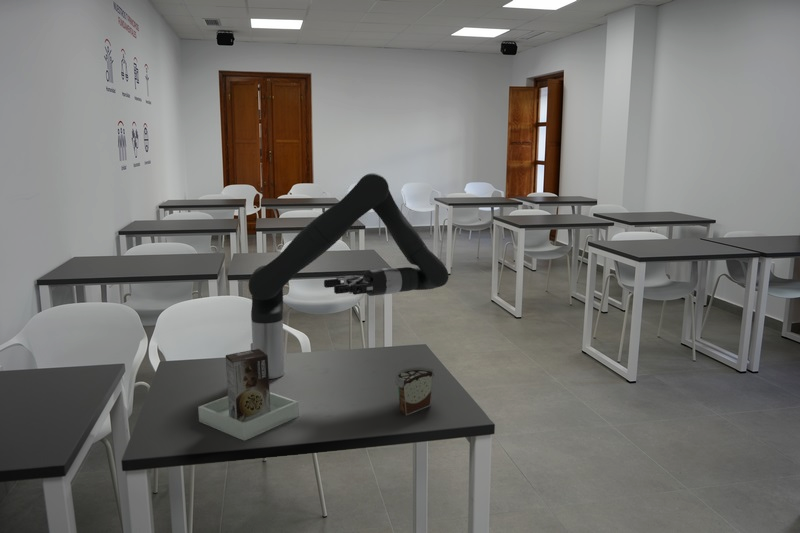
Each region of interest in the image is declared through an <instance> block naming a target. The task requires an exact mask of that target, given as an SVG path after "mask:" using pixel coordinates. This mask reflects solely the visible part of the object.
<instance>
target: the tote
mask: <svg viewBox="0 0 800 533" xmlns="http://www.w3.org/2000/svg"><path fill="white" fill-rule="evenodd" d="M299 403H300V402H299V401H298V400H294V399H291V398H289V397H286V396H283V395H280V394H277V393H274V392H271V391H270V409H271V412H269V413H267V414H264V415H262V416H259V417H257V418H255V419H252V420H248V421H244V422H241V421H238V420H236V419H233V418H232V417H231V416H230V415H229V403H228V395H226V396H224V397H222V398H219V399H216V400H212V401H210V402H208V403H205V404H202V405H200V406H198V407H197V409H198V422H199V423H202V424H204V425H207V426H208V427H211V428H213V429H216V430H219V431H220V432H222V433H225V434H227V435H230V436H231V437H234V438H237V439H239V440H242V441H243V442H244V441H247V440H249V439H253V438H254V437H256V436H259V435H260V434H263V433H266V432H267V431H269V430H272V429H274V428H276V427H278V426H281V425H283V424H285V423H287V422H290V421H293V420H294V419H296V418H300V408H299V407H300V405H299Z"/></svg>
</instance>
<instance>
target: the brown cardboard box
mask: <svg viewBox="0 0 800 533" xmlns="http://www.w3.org/2000/svg"><path fill="white" fill-rule="evenodd" d="M225 367H226V385H227V386H226V387H227V396H228V403H229V415H230V416H231V417H232V418H233V419H236V420H238V421H241V422H244V421H248V420H252V419H255V418H257V417H259V416H262V415H264V414H267V413H269V412H271V409H270V392H271V391H270V379H269V372H268V355H266V354H265V353H264V352H263V351H261V350H260V349H255V350H251V349H250V350H245V351H239V352H235V353H230V354H229V353H228V354H225Z"/></svg>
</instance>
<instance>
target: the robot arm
mask: <svg viewBox="0 0 800 533" xmlns="http://www.w3.org/2000/svg"><path fill="white" fill-rule="evenodd" d="M389 187H390V186H389V183H388V180H387V179H386V178H385V177H384V176H382V175H381V174H379V173H373V172H372V173H368V174H364V176H362V177H361V178H360V179H359V180H358V181H357V183H356V184H355V185H354V187H353V188H351V190H350V191H349V192H348V193H347V194H346V195H344V197H343V198H342V199H341V200H339V202H337V203H335V204H334V205H333V206H331V207H330V208H328V209H326V210H325V211H324V212H323V213H321V214H319V215H318V216H316V218H314V219H313V220H312V221H310V223H309V224H307V225H306V226H305V227H303V229H301V230H300V231H299V233H297V235H296V236H295V237H294V238H293V239H292V240H291V241H290V242H289V244H288V245H287V246H286V247H285V248H284V250H282V252H281V253H280V254H279V255H277V257H276V258H274V259H273V260H271V261H270V262H269V263H267V264H266V265H261V266H258V267H257V268H256V269H255V270H254V271H253V272H252V274H251V275H250V278H249V279H248V286H247V287H248V291H249V293H250V295H251V312H250V317H251V339H252V342H251V343H250V350H255V349H260V350H261V351H263V352H264V353H265V354H266V355H268V372H269V380H272V379H278V378H280V377H282V376H284V375H285V371H286V370H285V346H284V345H285V344H284V342H285V340H284V317H283V316H284V315H283V314H284V311H283V310H284V287H285V286H286V284H288V282H290V281H291V279H293V278H294V277H295V276H296V275H297V274H298V273H299V272H301V271H302V270H304V269H305V268H306V267H307V266H309V265H311V263H313V262H314V261H316V260H317V259H318V258H319V257H321V256H322V255H323V254H324V253H325V252H327V251H328V250H329V249H330V248H331V247H333V246H334V245H335V244H336V243H337V242H338V241H339V240H340V239H341V238H342V237H343V236H344V235H345V234H346V233H347V232H348V230H350V228H351V227H352V226H353V225H354V224H355V223H356V222H357V221H358V220H359V219H360V218H361V217H363V216H364V215H366V214H367V213H368V212H370V211H371V210H372V211H374V212H375V213H376V215H377V216H378V217H379V219H380V220H381V221H382V223H383V224H384V225H385V227H386V228H387V231H388V232H389V234H390V236H391V238H392V239H393V241H394V242H395V244H396V245H397V247H398V249H399V250H400V251H401V253H402V254H403V256H404V258H405V259H406V260H407V262H409V264H410V265H413V266H417V267H415V268H414V267H410V266H404V267H396V268H395V267H385V268H384V267H383V268H375V269H367V270H365V272H364V273H363V277H362V276H361V277H360V275H356V274H353V275H340V276H339V275H337V276H336V277H335V278H331V279H330V278H329V279H324V281H323V286H324V288H326V289H327V288H333V290H334V291H333V293H334V294H336V295H337V294H352V295H354V296H355V295H362V294H363V295H364V294H366V295H367V296H368V297H369V296H370V297H372V296H373V297H374V296H382V295H390V294H395V293H403V292H410V291H423V290H424V291H426V290H433V289H437V288H441V287H443V286H445V285H446V284H447V282H448V281H449V272H448V269H447V267H446V266H445V264H444V263H443V262H442V260H440V258H439V257H437V256H436V255H435V253H433V252H432V251H431V250H430V249H429V248H428V247H427V245H426V243H425V242H424V240H423V239H422V237H421V236H420V234H419V233H418V232H417V230H416V229H415V228H414V227H413V225H412V223H410V222H409V220H408V219H407V218H406V216H405V215H404V214H403V212H402V211H401V210H400V208H399V206H398V205H397V203H396V201H395V200H394V197H393V196H392V194H391V191H390V188H389ZM341 281H343V282H341Z"/></svg>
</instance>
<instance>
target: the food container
mask: <svg viewBox="0 0 800 533" xmlns="http://www.w3.org/2000/svg"><path fill="white" fill-rule="evenodd" d="M434 377H436V375H435V371H434V368H430V367H423V366H422V367H421V366H420V367H418V366H415V367H408V368H404V369H401V370H399V371H398V373H397V374H396V377H395V385H396V386H397V388H398V391H397V392H398V397H399V398H398V399H399V400H398V401H399V411H400V413H401V414H402V415H403V416H409V415H412V414H414V413H416V412H419V411H421V410H424V409H426V408H428V407H431V405H432V394H433V382H434Z"/></svg>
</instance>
